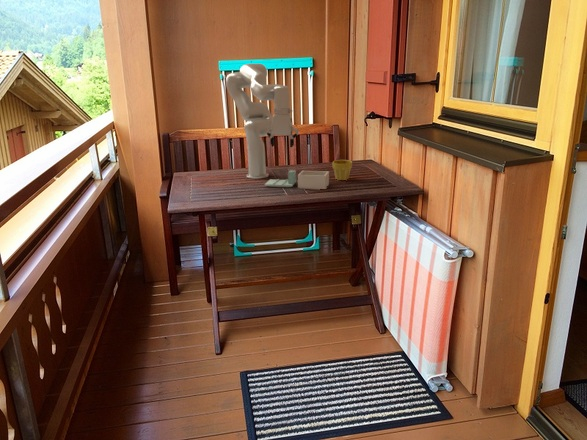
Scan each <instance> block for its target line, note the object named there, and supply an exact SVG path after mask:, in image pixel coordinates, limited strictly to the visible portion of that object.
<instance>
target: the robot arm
mask: <svg viewBox="0 0 587 440" xmlns="http://www.w3.org/2000/svg"><path fill="white" fill-rule="evenodd" d="M267 76H268V69H267V68H266V66H265V65H264V64H262V63H245V64H243V65H242V66H241V67H240V69H239V71H237V72H231V73H229V74H227V76H226V79H225V87H226V89H227V92H228V94H229V95H230V97H231V98H232V100H233V102H234V103H235V106H236V108H237V110H238V113H239V115H240V117H241V118H242V120H243V121H246V122H245V124H244V129H243V130H244V134H245V137H246V146H247V147H246V149H247V161H248V163H247V164H248V173H246V178H248V179H250V180H251V179H257V180H259V179H265V178H269V173H268V172H267V171H266V169H267V166H266V150H265V149H266V148H265V142H264V140H263V139H262V137H265V136H266V137H267V136H268V138H269V139H270V145H271V148H272V147H274V146H275V136H288V137H289V138H290V139H289V147H290V148H293V147H294V145H295V138H296V137H297V136H298V135H299V132H300V130H299V129H297V128H296V127H294V126H293V118H292V117H293V116H292V114H291V113H293V109H290V88H289V86H288V85H283V84H280V83H279V84H278V83H277V84H276V83H275V84H274V83H273V84H266V82H267ZM247 88H250V91H251V94H252V95H253V97H255V98H256V99H258V100H259V102H258V101H257V102H254V101H252V100H251V98H250V95H249V94H248V93H247V92H246V91H245V90H243V89H247ZM264 101H265V102H266V101H273V114H271V111H270V109H269V107H268V106H267V104H266V103H264ZM293 132H295V133H294V134H293Z"/></svg>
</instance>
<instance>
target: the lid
mask: <svg viewBox="0 0 587 440" xmlns="http://www.w3.org/2000/svg"><path fill="white" fill-rule="evenodd" d="M296 183H297V170H296V169H289V171H288V172H287V178H286V179H280V178H277V179H271V178H270V179H269V180H267V181H266V182H265V183H264V186H265V187H268V188H269V187H270V188H271V187H272V188H292V187H294V185H295V184H296Z"/></svg>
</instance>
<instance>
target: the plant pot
mask: <svg viewBox="0 0 587 440" xmlns="http://www.w3.org/2000/svg"><path fill="white" fill-rule="evenodd" d="M331 166H332V169H333V172H334V177H335V180H336V179H337V180H336V181H338V180H346V181H348V180H349V177H350V173H351V169H352V168H353V161H352V160H349V159H336V160H333V161H332V165H331ZM347 179H348V180H347Z"/></svg>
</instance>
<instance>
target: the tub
mask: <svg viewBox="0 0 587 440" xmlns="http://www.w3.org/2000/svg"><path fill="white" fill-rule="evenodd" d="M329 185H330V171H328V170H327V171H324V170H323V171H322V170H321V171H320V170H301V171H300V172H299V173H298V174H297V189H300V190H301V189H303V190H304V189H305V190H320V189H327V188H328V187H327V186H329Z"/></svg>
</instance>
